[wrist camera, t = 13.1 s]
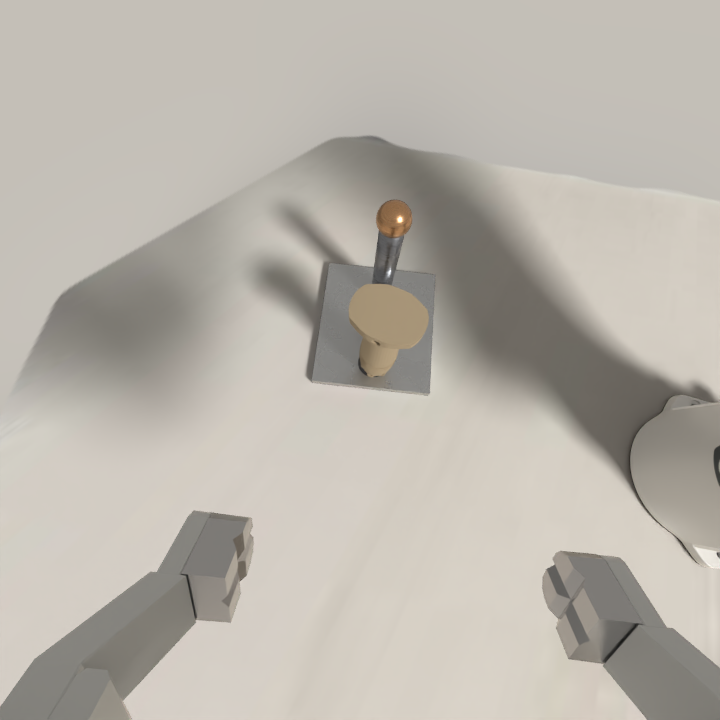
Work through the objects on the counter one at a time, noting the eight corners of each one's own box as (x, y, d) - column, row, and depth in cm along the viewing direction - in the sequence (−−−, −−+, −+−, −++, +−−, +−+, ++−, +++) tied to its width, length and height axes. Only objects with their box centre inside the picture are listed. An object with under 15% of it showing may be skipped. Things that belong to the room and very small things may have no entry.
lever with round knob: (392, 286, 46) (416, 193, 30) (391, 308, 45) (414, 224, 29) (368, 283, 46) (379, 189, 30) (366, 305, 45) (376, 220, 29)
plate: (433, 279, 48) (435, 274, 46) (427, 395, 43) (429, 393, 42) (329, 267, 48) (329, 262, 46) (312, 382, 43) (311, 380, 42)
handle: (358, 338, 43) (364, 273, 29) (406, 359, 43) (437, 303, 28) (341, 372, 42) (339, 323, 28) (391, 394, 41) (415, 355, 27)
